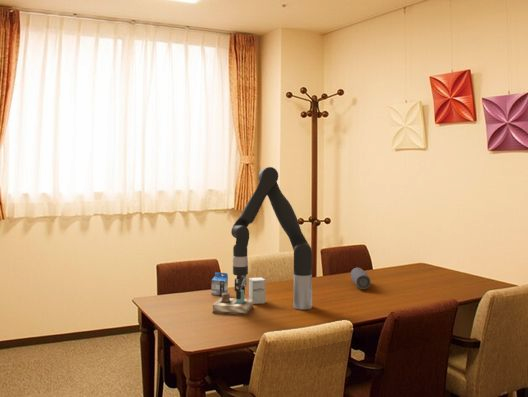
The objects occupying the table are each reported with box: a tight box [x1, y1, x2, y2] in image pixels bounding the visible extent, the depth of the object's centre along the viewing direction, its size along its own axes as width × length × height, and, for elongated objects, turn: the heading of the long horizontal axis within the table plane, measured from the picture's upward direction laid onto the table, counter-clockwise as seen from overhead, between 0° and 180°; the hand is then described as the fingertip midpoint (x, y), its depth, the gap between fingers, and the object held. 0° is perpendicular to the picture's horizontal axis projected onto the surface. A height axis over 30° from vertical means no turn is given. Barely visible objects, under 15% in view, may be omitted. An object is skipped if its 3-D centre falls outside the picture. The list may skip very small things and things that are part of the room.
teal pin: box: [235, 290, 245, 304], centre depth 256 cm, size 4×4×9 cm
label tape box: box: [210, 271, 229, 297], centre depth 287 cm, size 9×4×12 cm, turn 62°
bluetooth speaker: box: [350, 267, 372, 290], centre depth 307 cm, size 23×9×10 cm, turn 179°
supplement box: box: [248, 277, 266, 305], centre depth 271 cm, size 7×7×13 cm
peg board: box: [212, 292, 254, 316], centre depth 257 cm, size 17×14×8 cm
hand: (240, 296), depth 256 cm, fingers open, 8 cm apart
